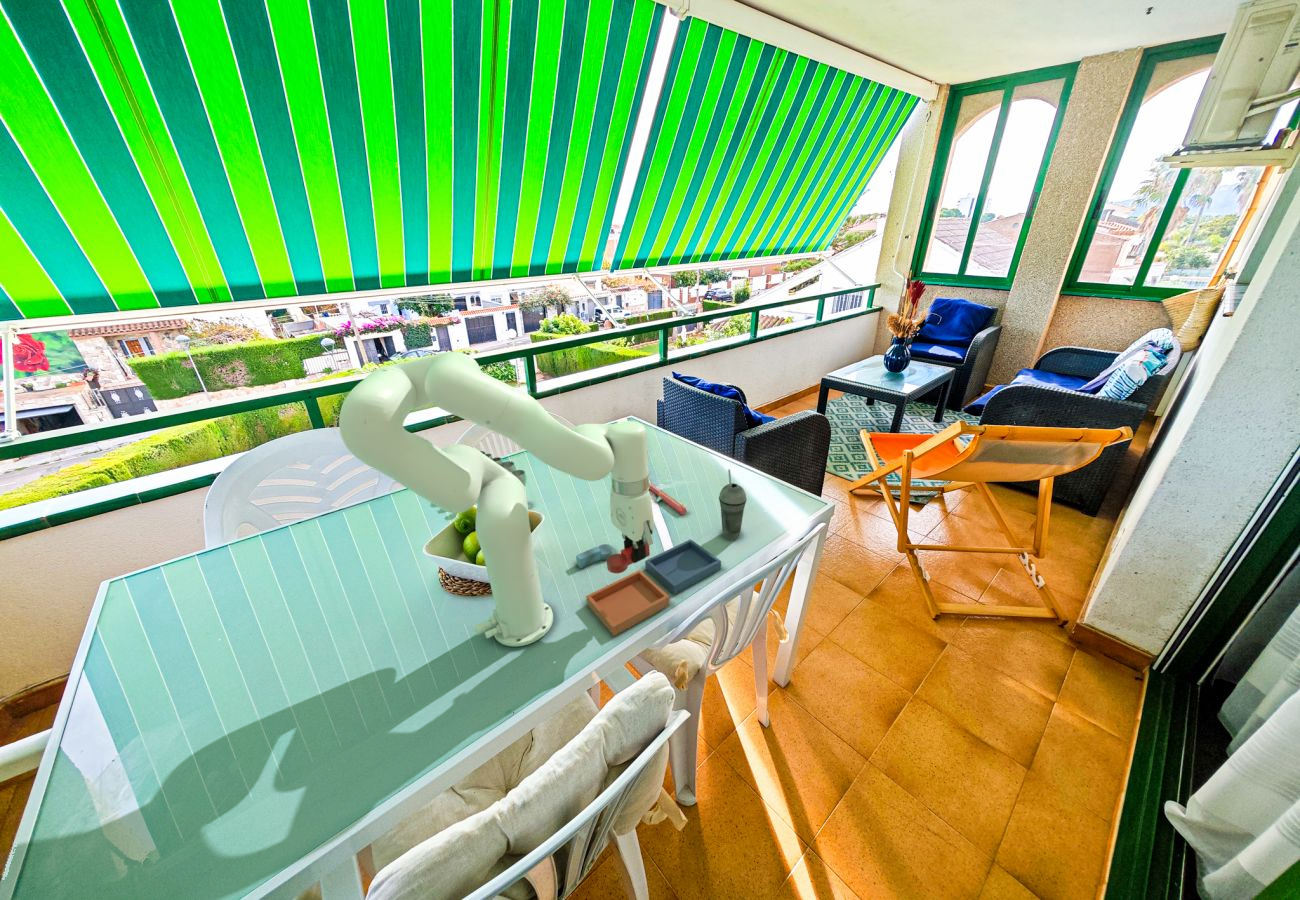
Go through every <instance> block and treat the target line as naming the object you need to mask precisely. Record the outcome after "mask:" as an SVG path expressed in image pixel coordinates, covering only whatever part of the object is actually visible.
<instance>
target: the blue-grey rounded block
mask: <svg viewBox="0 0 1300 900" xmlns="http://www.w3.org/2000/svg"><path fill="white" fill-rule="evenodd" d="M613 554H615V552H614V547H613V545H611V544H610V543H609V544H608V543H604V544H600V545H599V546H595V547H592V548H590V549H588V550H585V551H583V552H580V553H579V554H576V555H575V558H576V565H577V566H578V567H579V568H580V569H584V568H585V567H588V566H590V565H592V564H594V563H596V562H598V561H607V558H608V557H609V556H610V555H613Z"/></svg>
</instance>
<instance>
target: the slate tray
mask: <svg viewBox="0 0 1300 900" xmlns="http://www.w3.org/2000/svg"><path fill="white" fill-rule="evenodd" d="M644 564H645V565H644V566H645V567H644V568H645V570H646V571H647V572H648V573H649V574H651V575H652V576H653V577H654V578H655V579H656V581H658V582H660V583H661V584H662V585H663V586H664V587H665V588H666V589H667V590H669V591H670V593H672V594H673V595H676V594H678V593H680V592H682V591H684V590H685V589H687V588H689V587H691V586H693V585H695V584H696V583H698V582H700V581H702V580H704V579H705V578H707V577H709V576H711V575H713V574H715V573H716V572H719V571H720V570H722V560H720V559H719V558H718V557H716V556H715V555H714V554H712V553H711V552H709V551H708V550H707V549H705V548H704V547H702V546H701V545H700V544H698V543H697V542H695V541H694V540H692V539H688V540H685V541H684V542H681V543H679V544H677V545H674V546H673V547H671V548H668V549H667V550H665V551H663V552H661V553H658V554H656V555H654V556H652V557H650V558H648V559H646V560H644Z"/></svg>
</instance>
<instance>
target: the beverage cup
mask: <svg viewBox="0 0 1300 900" xmlns="http://www.w3.org/2000/svg"><path fill="white" fill-rule="evenodd" d="M727 475H728V482H729V483H728V484H725V485H724V486H723V487H722V488H721V490H720V492H719V496H718V501H719V505H720V517H721V530H722V536H723V538H725V539H727V540H732V541H733V540H738V539H739V538H740V535H741V532H742V524H743V518H744V510H745V506H746V504H747V500H748V498H747V494H746V491H745V489H744V488H743V487H742V486H741V485H740V484H737V483H732V474H731V469H729V468H728V469H727Z"/></svg>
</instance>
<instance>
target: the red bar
mask: <svg viewBox="0 0 1300 900" xmlns="http://www.w3.org/2000/svg"><path fill="white" fill-rule="evenodd" d="M649 490H650V491H651V492H653V493H654V494H655V495H657V496H658V497H657V498H656V502H657V503H659V502H660V501H663V502H664V503H665V504H667V505H669V506H670V507H671V508H673V509H674V510H675V511H676V512H677V513H679V514H681V515H682V516H684V515H686V513H688V511H687V509H686V507H685V506H684V502H681V503H680V502H678V501H677V500H675V499H674V498H672V497H671V496H669V495H668V494H667V493H666V492H664V490H662V489H661V490H660V489H659V488H657V487H656V486H655V485H653V484H652V483H651V482H649Z"/></svg>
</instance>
